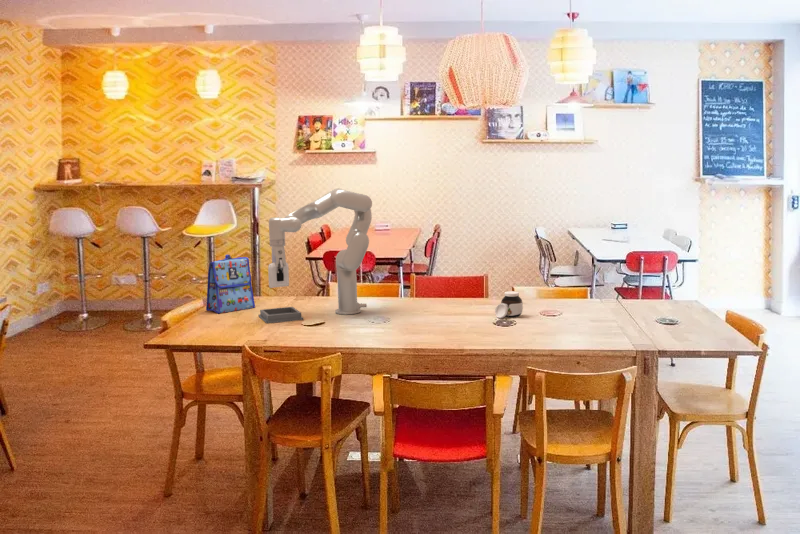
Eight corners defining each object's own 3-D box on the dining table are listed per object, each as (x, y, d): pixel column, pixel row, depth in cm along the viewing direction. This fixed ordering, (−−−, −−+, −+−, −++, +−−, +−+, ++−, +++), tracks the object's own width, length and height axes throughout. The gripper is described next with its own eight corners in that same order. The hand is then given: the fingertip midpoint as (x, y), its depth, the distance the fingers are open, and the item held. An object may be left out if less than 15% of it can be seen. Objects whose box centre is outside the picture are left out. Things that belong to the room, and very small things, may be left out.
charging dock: (293, 313, 432) (293, 306, 431) (303, 319, 415) (303, 312, 414) (258, 316, 425) (258, 309, 424) (266, 323, 408) (266, 316, 408)
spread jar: (524, 315, 415) (524, 291, 413) (517, 320, 404) (517, 295, 403) (500, 313, 420) (500, 290, 418) (493, 318, 409) (492, 294, 408)
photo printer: (286, 285, 422) (285, 260, 420) (290, 286, 419) (289, 261, 417) (267, 287, 417) (266, 262, 415) (271, 288, 413) (270, 263, 411)
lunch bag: (218, 314, 433) (215, 257, 428) (205, 310, 443) (202, 255, 438) (255, 308, 447) (253, 253, 442) (242, 304, 457) (239, 250, 452)
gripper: (289, 244, 408) (290, 282, 411) (280, 240, 424) (282, 277, 426) (273, 245, 405) (275, 283, 408) (265, 241, 421) (267, 278, 424)
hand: (279, 279), depth 417 cm, fingers closed on photo printer, 4 cm apart
